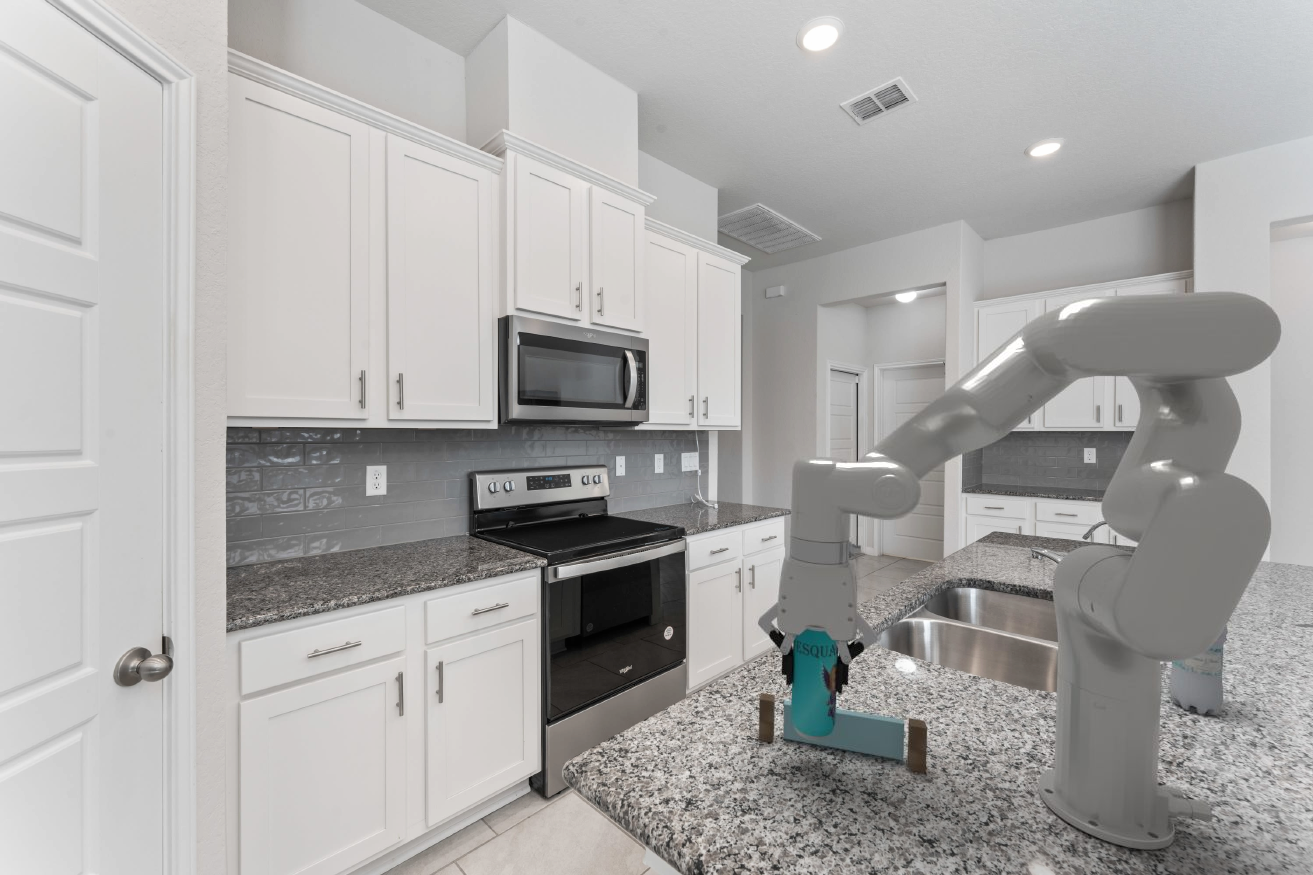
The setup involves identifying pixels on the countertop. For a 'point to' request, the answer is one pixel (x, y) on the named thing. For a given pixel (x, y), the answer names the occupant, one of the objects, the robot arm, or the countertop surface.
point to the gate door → (857, 733)
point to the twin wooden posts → (915, 733)
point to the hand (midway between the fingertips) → (814, 683)
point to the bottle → (1200, 679)
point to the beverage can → (814, 684)
